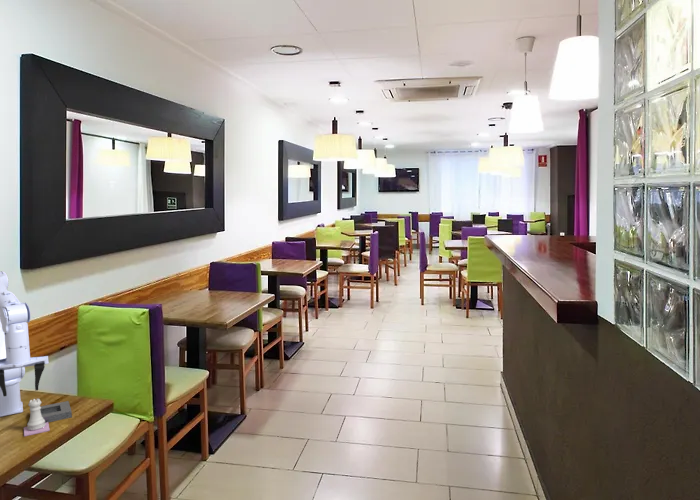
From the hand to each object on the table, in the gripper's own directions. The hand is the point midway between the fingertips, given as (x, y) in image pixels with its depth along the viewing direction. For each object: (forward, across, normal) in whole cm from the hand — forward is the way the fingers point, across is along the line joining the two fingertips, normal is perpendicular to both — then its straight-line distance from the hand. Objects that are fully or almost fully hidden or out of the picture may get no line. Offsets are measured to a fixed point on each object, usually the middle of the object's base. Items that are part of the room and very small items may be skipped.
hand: (21, 392), depth 147 cm
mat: (+9, +3, -7) cm, 12 cm away
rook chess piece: (+9, +3, -6) cm, 12 cm away
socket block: (+9, +7, +2) cm, 12 cm away
